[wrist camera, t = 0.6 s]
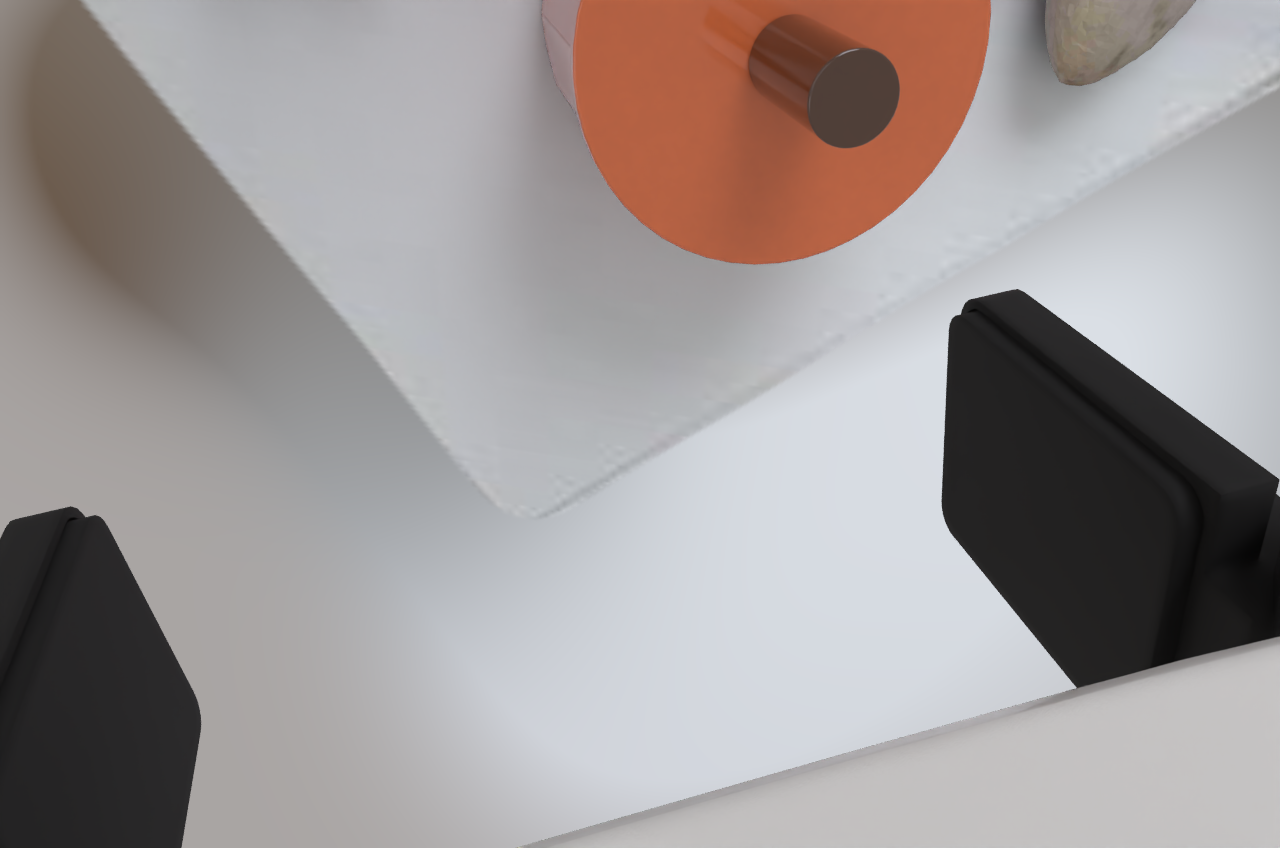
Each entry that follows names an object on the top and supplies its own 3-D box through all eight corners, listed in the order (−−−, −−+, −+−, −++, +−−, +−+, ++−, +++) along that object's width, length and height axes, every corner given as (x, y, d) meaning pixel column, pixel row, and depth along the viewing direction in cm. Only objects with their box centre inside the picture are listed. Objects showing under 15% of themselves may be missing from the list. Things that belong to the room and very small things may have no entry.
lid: (481, 118, 29) (506, 182, 24) (745, -315, 25) (836, -339, 20) (797, 315, 34) (866, 397, 30) (1051, -12, 30) (1176, 24, 26)
